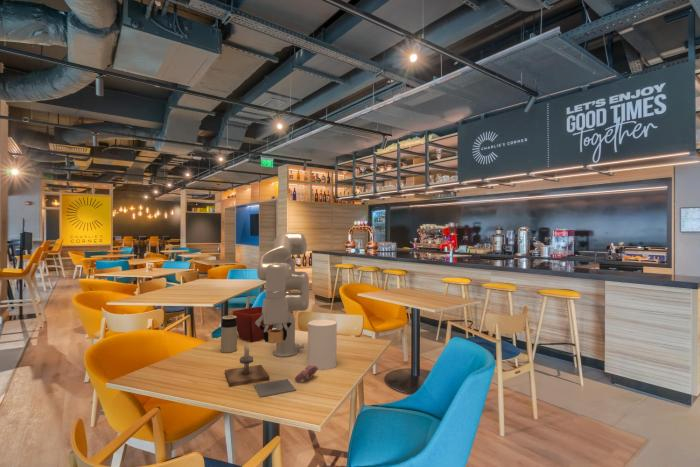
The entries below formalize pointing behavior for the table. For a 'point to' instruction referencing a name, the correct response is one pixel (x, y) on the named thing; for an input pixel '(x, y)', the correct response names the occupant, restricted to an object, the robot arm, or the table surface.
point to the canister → (322, 343)
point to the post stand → (246, 372)
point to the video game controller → (306, 373)
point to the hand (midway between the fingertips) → (275, 340)
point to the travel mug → (229, 334)
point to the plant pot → (249, 324)
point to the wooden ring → (275, 336)
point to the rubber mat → (274, 388)
